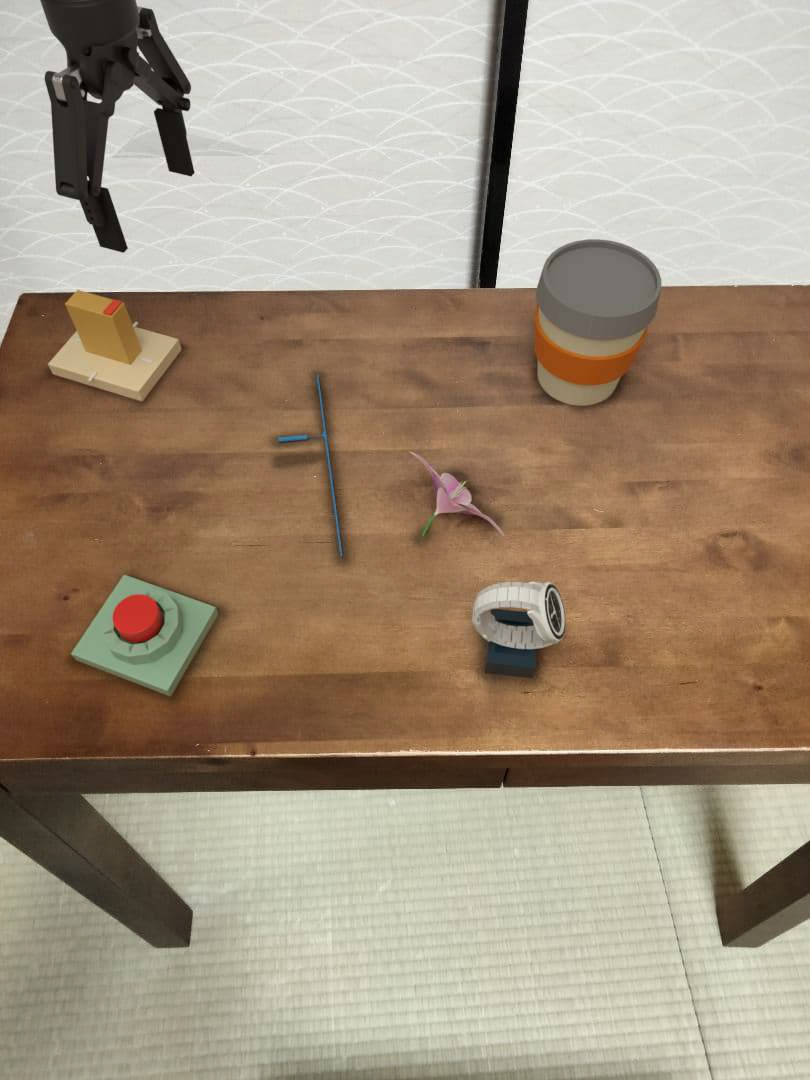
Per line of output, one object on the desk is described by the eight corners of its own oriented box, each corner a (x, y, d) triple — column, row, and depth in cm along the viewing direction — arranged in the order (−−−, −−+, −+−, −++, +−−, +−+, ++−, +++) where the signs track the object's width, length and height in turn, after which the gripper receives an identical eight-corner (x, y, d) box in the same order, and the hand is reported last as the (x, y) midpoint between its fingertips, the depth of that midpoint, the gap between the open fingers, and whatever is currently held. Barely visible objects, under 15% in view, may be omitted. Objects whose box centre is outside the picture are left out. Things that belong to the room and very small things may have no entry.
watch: (552, 685, 74) (573, 630, 65) (464, 674, 75) (473, 618, 66) (554, 630, 77) (574, 570, 68) (469, 620, 78) (478, 559, 69)
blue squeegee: (289, 561, 80) (342, 555, 80) (272, 377, 93) (318, 374, 94) (290, 568, 81) (342, 562, 82) (274, 386, 95) (318, 383, 95)
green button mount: (78, 664, 75) (63, 644, 72) (130, 585, 80) (118, 564, 77) (173, 700, 74) (162, 682, 70) (220, 617, 78) (212, 597, 75)
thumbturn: (85, 351, 94) (63, 302, 88) (97, 337, 96) (76, 287, 90) (130, 364, 93) (111, 315, 87) (141, 350, 94) (123, 300, 88)
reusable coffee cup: (600, 334, 100) (629, 227, 87) (649, 407, 93) (687, 303, 80) (505, 357, 97) (520, 251, 85) (548, 433, 91) (571, 330, 78)
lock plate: (52, 383, 95) (43, 366, 93) (100, 326, 100) (93, 309, 98) (141, 410, 93) (135, 394, 91) (186, 351, 98) (181, 334, 96)
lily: (499, 586, 81) (539, 508, 76) (390, 571, 77) (425, 488, 72) (465, 516, 90) (499, 442, 85) (366, 499, 86) (396, 421, 81)
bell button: (109, 634, 73) (103, 625, 72) (132, 597, 75) (127, 588, 74) (148, 648, 72) (142, 639, 71) (171, 611, 74) (166, 602, 73)
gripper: (30, 57, 59) (116, 292, 77) (196, -77, 72) (237, 150, 90) (-55, 39, 61) (48, 273, 78) (122, -90, 73) (177, 137, 91)
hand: (149, 208), depth 84 cm, fingers open, 13 cm apart
